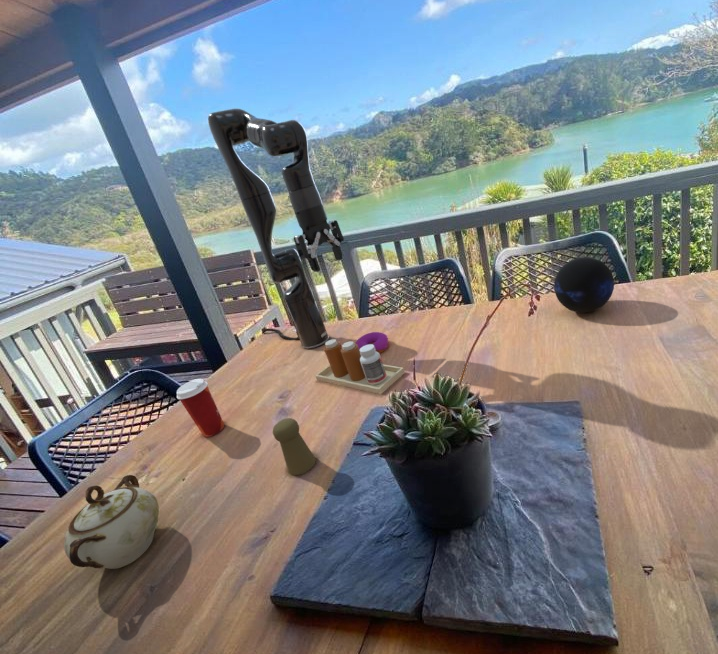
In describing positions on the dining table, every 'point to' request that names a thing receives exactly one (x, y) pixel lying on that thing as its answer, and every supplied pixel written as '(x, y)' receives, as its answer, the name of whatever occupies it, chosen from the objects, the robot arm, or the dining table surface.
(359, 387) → the tray
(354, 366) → the amber bottle middle
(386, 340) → the donut
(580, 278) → the decorative sphere
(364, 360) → the pill bottle
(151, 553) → the dining table surface
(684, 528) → the dining table surface
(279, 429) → the olive green pawn
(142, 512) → the sugar bowl
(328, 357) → the amber bottle far
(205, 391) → the paper cup
